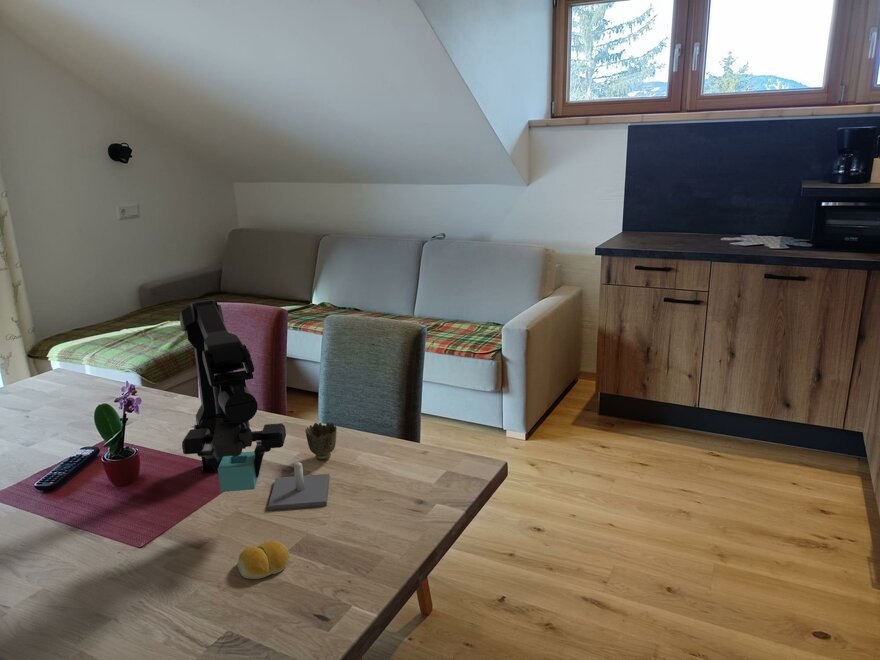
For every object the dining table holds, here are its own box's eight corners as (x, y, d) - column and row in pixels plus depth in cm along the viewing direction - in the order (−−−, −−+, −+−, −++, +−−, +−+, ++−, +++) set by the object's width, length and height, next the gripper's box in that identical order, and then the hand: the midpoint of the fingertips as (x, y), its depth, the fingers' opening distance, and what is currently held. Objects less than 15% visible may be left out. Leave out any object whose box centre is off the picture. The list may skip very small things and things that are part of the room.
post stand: (268, 510, 137) (265, 478, 135) (276, 481, 148) (273, 452, 146) (326, 505, 138) (324, 473, 136) (329, 477, 150) (327, 448, 148)
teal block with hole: (220, 492, 126) (217, 468, 125) (227, 475, 132) (224, 453, 131) (254, 489, 127) (251, 466, 125) (259, 473, 133) (257, 451, 132)
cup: (342, 451, 162) (339, 422, 160) (334, 465, 155) (332, 435, 153) (312, 451, 163) (310, 421, 161) (304, 465, 156) (301, 434, 154)
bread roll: (296, 568, 118) (294, 548, 117) (247, 586, 114) (244, 567, 112) (280, 546, 125) (278, 527, 124) (233, 562, 120) (230, 544, 119)
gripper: (168, 425, 116) (180, 502, 121) (275, 418, 118) (283, 494, 123) (185, 401, 127) (195, 473, 131) (282, 395, 129) (289, 466, 133)
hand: (240, 477), depth 129 cm, fingers closed on teal block with hole, 6 cm apart
